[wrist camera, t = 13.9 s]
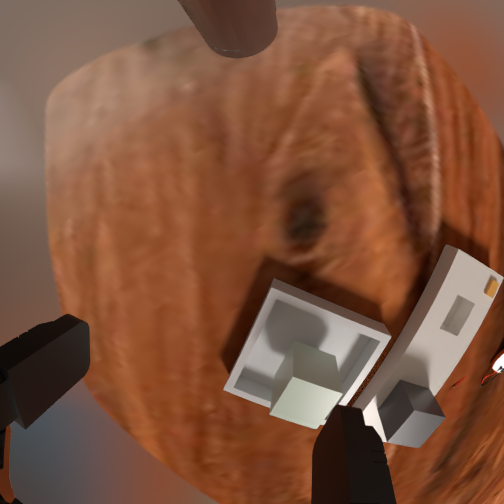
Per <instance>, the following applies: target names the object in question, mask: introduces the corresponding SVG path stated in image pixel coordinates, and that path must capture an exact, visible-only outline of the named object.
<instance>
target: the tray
mask: <svg viewBox="0 0 504 504" xmlns="http://www.w3.org/2000/svg"><path fill="white" fill-rule="evenodd" d="M391 337H392V336H391V335H390V333H389V331H388V330H387V328H386V326H385V325H384V324H383V323H380V322H378V321H375V320H373V319H370V318H368V317H366V316H363V315H361V314H358V313H356V312H354V311H351V310H349V309H346V308H344V307H342V306H339V305H337V304H334V303H332V302H330V301H327V300H325V299H322V298H320V297H318V296H315V295H313V294H310V293H308V292H306V291H303V290H301V289H299V288H296V287H294V286H292V285H289V284H287V283H285V282H282V281H280V280H277V279H275V278H274V279H273V281H272V283H271V285H270V288H269V290H268V292H267V294H266V296H265V299H264V301H263V303H262V305H261V307H260V310H259V312H258V314H257V316H256V318H255V321H254V323H253V325H252V327H251V329H250V331H249V334H248V336H247V338H246V340H245V342H244V344H243V346H242V349H241V351H240V353H239V355H238V357H237V359H236V361H235V363H234V365H233V368H232V370H231V372H230V374H229V376H228V379H227V382H226V384H225V387H224V389H223V390H225V391H227V392H230V393H232V394H235V395H237V396H240V397H242V398H245V399H247V400H250V401H253V402H255V403H258V404H261V405H263V406H266V407H269V408H270V406H271V399H272V392H273V385H274V378H275V374H276V372H277V370H278V368H279V367H280V365H281V363H282V361H283V359H284V358H285V356H286V354H287V352H288V350H289V348H290V347H291V345H292V343H293V341H294V340H295V341H298V342H300V343H302V342H304V343H307V344H309V345H312V346H314V347H317V348H318V349H319V350H321V351H324V352H326V353H329V354H332V355H334V356H336V361H337V366H338V371H339V376H340V381H341V386H342V391H343V394H342V396H341V397H340V399H339V400H338V401H337V403H336V404H335V406H336V405H337V404H339V405H345V406H346V405H347V403H348V402H349V400H350V399H351V398H352V396H353V395H354V394H355V392H356V391H357V389H358V388H359V387H360V385H361V384H362V382H363V381H364V379H365V378H366V376H367V375H368V373H369V372H370V370H371V369H372V367H373V366H374V364H375V363H376V361H377V360H378V358H379V356H380V355H381V353H382V352H383V350H384V348H385V347H386V345H387V344H388V342H389V340H390V339H391ZM335 406H334V407H335ZM334 407H333V408H334ZM333 408H332V410H333ZM332 410H331V411H330V412H329V414H328V415H327V416H326V418H325V419H324V420H323V422H322V423H321V425H325V423H326V421H327V419H328V417H329V415H330V413H331V412H332Z"/></svg>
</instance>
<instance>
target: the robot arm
mask: <svg viewBox="0 0 504 504" xmlns="http://www.w3.org/2000/svg"><path fill="white" fill-rule="evenodd" d="M178 2H179V3H180V5H181V6H182V7H183V9H184V10H185V12H186V13H187V15H188V16H189V17H190V19H191V20H192V22H193V23H194V25H195V26H196V28H197V29H198V31H199V32H200V34H201V35H202V37H203V38H204V40H205V41H206V43H207V44H208V46H209V47H210V48H211V49H212V50H213V51H215V52H216V53H218V54H220V55H223V56H226V57H232V58H242V57H248V56H251V55H254V54H257V53H259V52H261V51H262V50H264V49H265V48H266V47H268V46H269V45H270V44H271V43H272V41H273V40H274V38H275V36H276V34H277V29H278V26H277V18H276V4H275V0H178ZM89 365H90V339H89V325H88V323H87V322H85V321H83V320H81V319H78V318H76V317H74V316H72V315H70V314H66V315H64V316H62V317H60V318H58V319H57V320H55V321H51V322H47V323H42V324H39V325H37V326H35V327H33V328H32V329H30V330H28V332H25V333H23V334H21V335H20V336H19V338H18V337H16V338H14V339H13V340H11V341H9V342H7V343H6V344H4V345H2V346H1V347H0V504H23V503H21V502H20V501H19V500H18V499H16V498H15V496H14V491H13V488H12V486H11V483H10V478H9V454H10V437H11V428H10V424H11V423H12V422H13V421H16V422H17V423H18V424H19V425H21V426H22V427H23V428H24V429H27V428H28V427H29V426H30V425H31V424H32V423H33V422H34V421H35V420H36V419H37V418H39V417H40V416H41V415H42V414H43V413H44V412H45V411H46V410H47V409H48V408H50V406H52V405H53V404H54V403H55V402H56V401H57V400H58V399H59V398H61V397H62V396H63V395H64V394H65V393H66V392H67V391H68V390H69V389H70V388H72V387H73V386H74V385H75V384H76V383H77V382H78V381H79V380H81V379H82V378H83V377H84V376H85V374H86V373H87V371H88V369H89ZM384 452H385V450H384V446H383V442H382V438H381V437H380V435H379V434H378V433H377V431H376V430H375V429H374V427H373V426H368V425H365V420H364V416H363V412H362V409H361V408H357V407H350V406H345V405H339V404H337V405H336V406H335V407H334V408H333V410H332V412H331V413H330V415H329V417H328V419H327V421H326V423H325V425H324V426H323V428H322V430H321V432H320V433H319V435H318V437H317V439H316V442H315V444H314V448H313V454H312V497H311V504H396V499H395V494H394V490H393V485H392V480H391V476H390V471H389V467H388V465H387V458H386V454H384Z"/></svg>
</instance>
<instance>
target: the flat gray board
mask: <svg viewBox="0 0 504 504" xmlns="http://www.w3.org/2000/svg"><path fill="white" fill-rule="evenodd" d="M503 278H504V277H502V276H501V275H499V274H498V273H496V272H495V271H493V270H491V269H490V268H488V267H487V266H485V265H484V264H482V263H481V262H479V261H477V260H476V259H474V258H473V257H471V256H469V255H468V254H466V253H465V252H463V251H461V250H460V249H457V248H455V247H453V246H450V245H447V244H445V247H444V249H443V251H442V253H441V256H440V258H439V260H438V262H437V265H436V267H435V269H434V271H433V273H432V275H431V277H430V279H429V281H428V283H427V285H426V287H425V289H424V291H423V293H422V295H421V297H420V299H419V301H418V303H417V305H416V307H415V308H414V310H413V312H412V314H411V316H410V318H409V319H408V321H407V323H406V325H405V326H404V328H403V330H402V332H401V333H400V335H399V337H398V338H397V340H396V342H395V343H394V345H393V347H392V348H391V350H390V351H389V353H388V355H387V356H386V358H385V359H384V361H383V362H382V364H381V365H380V367H379V368H378V370H377V371H376V373H375V374H374V376H373V377H372V379H371V380H370V382H369V383H368V385H367V386H366V387H365V389H364V390H363V392H362V393H361V394H360V396H359V397H358V399H357V400H356V401H355V403H354V404H353V405H352V407H357V408H361V409H362V412H363V416H364V420H365V425H368V426H373V427H374V429H375V430H376V431H377V433H378V434H379V435H380V437H381V438H382V441H383V442H387V441H386V437H385V434H384V430H383V427H382V424H381V420H380V417H379V414H378V409H379V407H380V406H381V405H382V403H383V402H384V401H385V399H386V398H387V397H388V395H389V394H390V393H391V391H392V390H393V389H394V387H395V386H396V384H397V383H398V382H399V380H403V381H406V382H410V383H413V384H416V385H419V386H423V387H426V388H429V389H430V390H431V392H432V394H433V396H435V395H436V394H437V392H438V391H439V389H440V388H441V387H442V385H443V384H444V382H445V381H446V380H447V378H448V377H449V375H450V374H451V372H452V371H453V369H454V368H455V366H456V365H457V363H458V362H459V360H460V359H461V357H462V355H463V354H464V352H465V351H466V349H467V347H468V346H469V344H470V342H471V341H472V339H473V337H474V335H475V334H476V332H477V330H478V328H479V327H480V325H481V323H482V321H483V319H484V317H485V315H486V314H487V312H488V310H489V308H490V306H491V304H492V302H493V300H494V298H495V295H496V293H497V291H498V289H499V287H500V285H501V282H502V280H503Z"/></svg>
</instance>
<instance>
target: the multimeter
mask: <svg viewBox="0 0 504 504" xmlns="http://www.w3.org/2000/svg"><path fill="white" fill-rule="evenodd" d="M491 366H492V369H493V370H494V371H495V373H496V372H497V373H498V374H499V373H501V372H502V371H504V349H503V350H501V351H500V352H499V353H498V354H497V355H496V357H495V358H494V359H493V361H492V362H491ZM495 373H493V374H495ZM493 374H490V375H493ZM498 374H497V375H498ZM490 375H488V376H490ZM497 375H496V376H497ZM496 376H495V377H496ZM465 377H466V376H465ZM465 377H464V378H465ZM486 377H487V376H486ZM486 377H485V378H486ZM495 377H494V378H495ZM464 378H463V379H464ZM485 378H484V379H485ZM463 379H461V380H460V381H459V382H461V381H462V380H463ZM484 379H483V380H484ZM492 379H493V378H492ZM492 379H491V380H492ZM483 380H482V384H483ZM491 380H490V381H491ZM490 381H488V382H490ZM459 382H458V383H459ZM488 382H487V383H488ZM458 383H456V384H455V385H454V386H453V387H452V388H454V387H455V386H456V385H457V384H458ZM487 383H485V384H487ZM485 384H484V385H485ZM482 386H483V385H482ZM480 387H481V386H480ZM480 387H479V388H480ZM452 388H451V389H452ZM451 389H450V390H451ZM450 390H449V391H450Z"/></svg>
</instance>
